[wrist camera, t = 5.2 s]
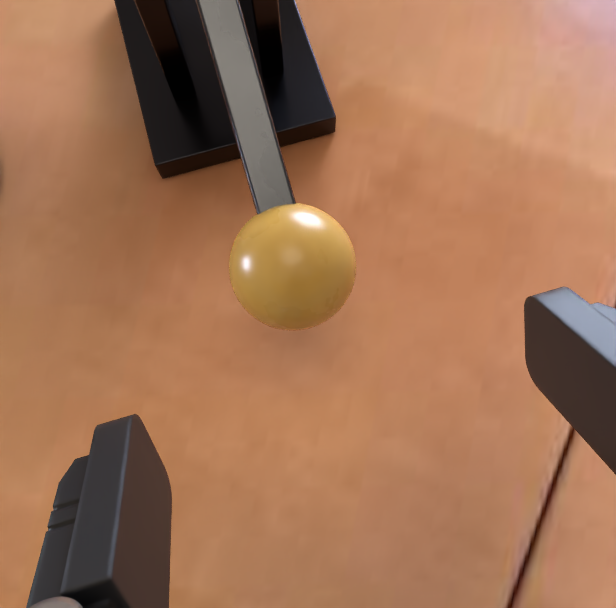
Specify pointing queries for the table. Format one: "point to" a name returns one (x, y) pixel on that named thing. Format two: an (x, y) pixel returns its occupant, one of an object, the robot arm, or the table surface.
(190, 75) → the latch bracket
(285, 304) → the latch lever
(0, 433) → the table surface
